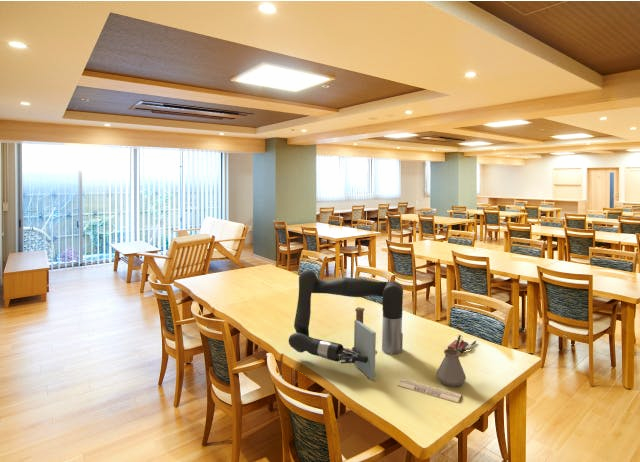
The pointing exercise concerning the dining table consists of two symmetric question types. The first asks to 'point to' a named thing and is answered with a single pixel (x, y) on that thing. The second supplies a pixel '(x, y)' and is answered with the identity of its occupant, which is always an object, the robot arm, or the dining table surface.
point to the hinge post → (359, 314)
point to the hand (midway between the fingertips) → (367, 360)
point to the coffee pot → (451, 368)
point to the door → (365, 347)
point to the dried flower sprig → (461, 346)
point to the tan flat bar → (429, 390)
